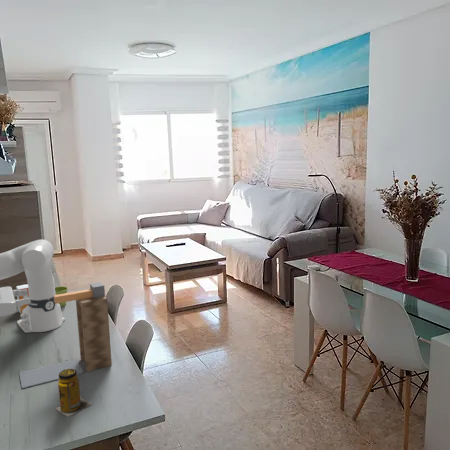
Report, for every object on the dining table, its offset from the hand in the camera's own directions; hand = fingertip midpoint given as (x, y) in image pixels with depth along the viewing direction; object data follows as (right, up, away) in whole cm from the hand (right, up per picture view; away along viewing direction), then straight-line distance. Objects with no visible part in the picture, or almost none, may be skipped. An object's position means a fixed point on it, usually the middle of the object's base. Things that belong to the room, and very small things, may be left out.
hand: (28, 296), depth 152 cm
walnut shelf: (+19, -27, +15) cm, 36 cm away
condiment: (+20, -33, -13) cm, 40 cm away
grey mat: (+5, -29, +7) cm, 30 cm away
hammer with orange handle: (+15, -2, +9) cm, 17 cm away
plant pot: (-18, -17, +76) cm, 80 cm away
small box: (-31, -19, +69) cm, 78 cm away
